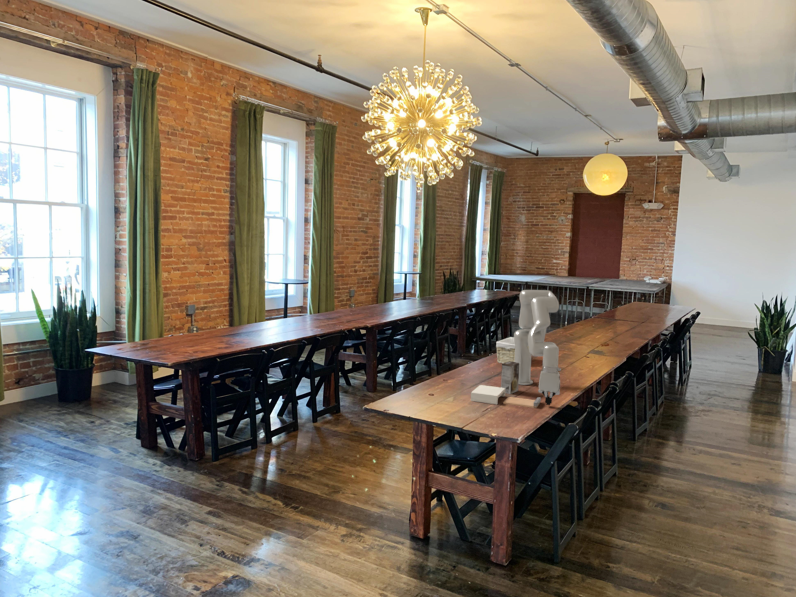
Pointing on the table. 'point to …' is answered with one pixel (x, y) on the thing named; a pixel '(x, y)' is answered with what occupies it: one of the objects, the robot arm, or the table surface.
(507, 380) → the coffee box
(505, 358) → the storage basket
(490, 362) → the table surface
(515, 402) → the tan flat board
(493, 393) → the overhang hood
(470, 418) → the table surface
